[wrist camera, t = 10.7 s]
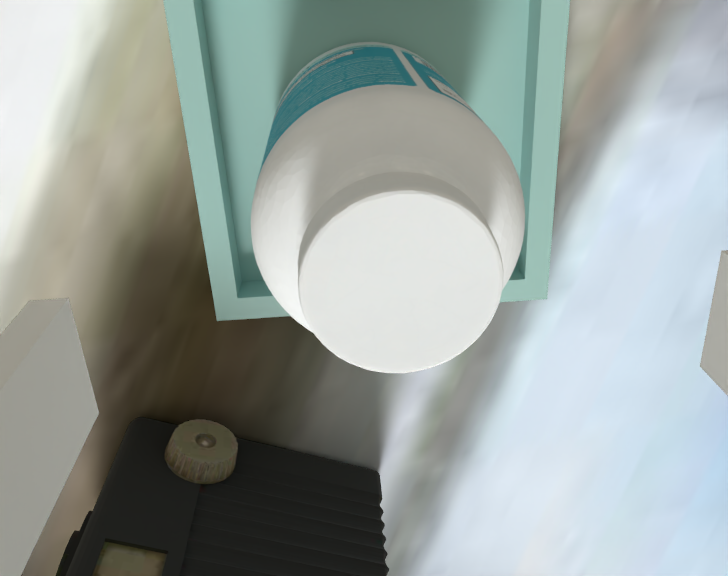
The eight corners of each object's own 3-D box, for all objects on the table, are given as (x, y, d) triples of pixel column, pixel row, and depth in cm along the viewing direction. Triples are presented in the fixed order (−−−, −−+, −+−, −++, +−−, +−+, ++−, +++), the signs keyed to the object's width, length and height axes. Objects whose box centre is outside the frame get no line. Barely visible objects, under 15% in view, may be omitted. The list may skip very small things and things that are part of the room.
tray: (224, 297, 31) (216, 321, 29) (168, -50, 25) (155, -49, 23) (533, 276, 31) (547, 298, 29) (556, -71, 25) (575, -73, 23)
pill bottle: (261, 206, 29) (211, 398, 16) (289, 19, 25) (253, 87, 13) (435, 237, 30) (509, 440, 17) (483, 61, 26) (614, 160, 14)
